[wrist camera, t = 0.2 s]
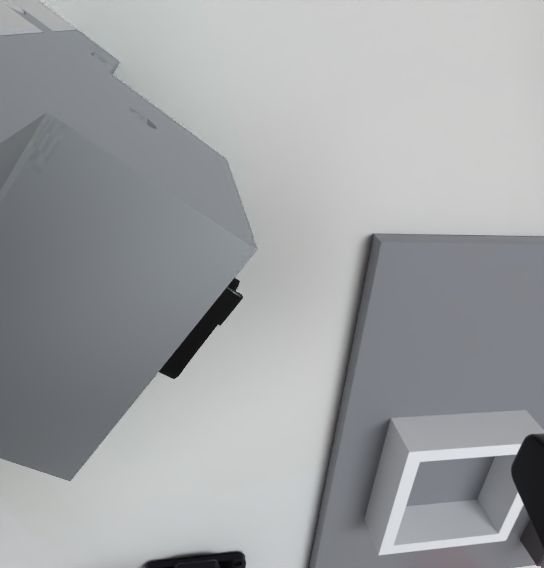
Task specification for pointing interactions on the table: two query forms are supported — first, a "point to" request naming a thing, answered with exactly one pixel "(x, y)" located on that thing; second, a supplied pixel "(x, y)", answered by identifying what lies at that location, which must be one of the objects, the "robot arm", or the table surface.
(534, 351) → the panel
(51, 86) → the circuit breaker
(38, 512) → the table surface
